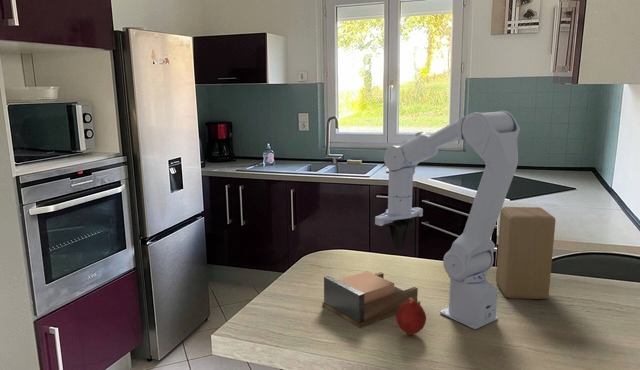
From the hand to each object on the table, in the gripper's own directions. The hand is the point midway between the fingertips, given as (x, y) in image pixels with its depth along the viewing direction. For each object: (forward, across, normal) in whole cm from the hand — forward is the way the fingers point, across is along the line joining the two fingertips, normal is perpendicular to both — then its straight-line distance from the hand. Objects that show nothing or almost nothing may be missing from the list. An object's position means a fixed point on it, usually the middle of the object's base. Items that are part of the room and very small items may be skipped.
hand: (398, 248), depth 122 cm
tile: (+6, +16, +5) cm, 17 cm away
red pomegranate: (+10, +16, +19) cm, 27 cm away
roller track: (+10, +13, +5) cm, 17 cm away
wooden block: (+10, -21, +21) cm, 31 cm away
